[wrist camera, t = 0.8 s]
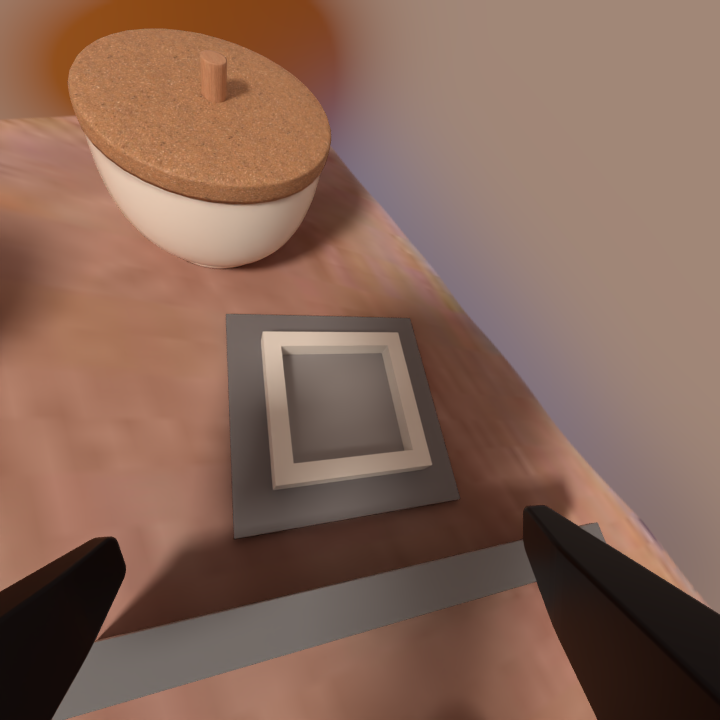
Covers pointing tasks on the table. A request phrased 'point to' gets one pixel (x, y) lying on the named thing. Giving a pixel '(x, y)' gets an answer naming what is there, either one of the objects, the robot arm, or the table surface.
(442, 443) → the mat
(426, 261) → the table surface
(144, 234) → the lidded bowl
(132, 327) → the table surface
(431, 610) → the gray fence
